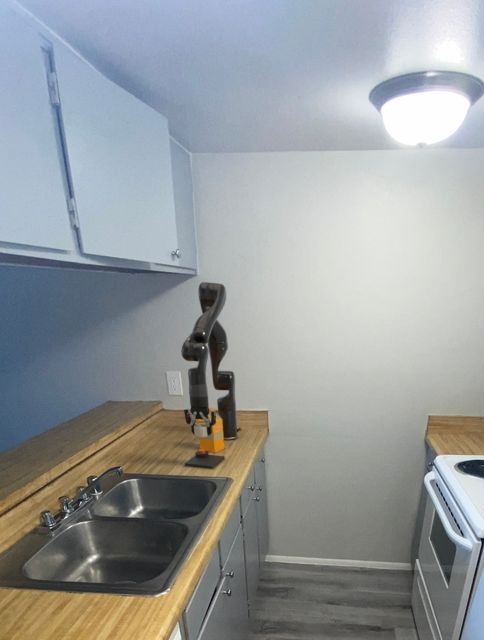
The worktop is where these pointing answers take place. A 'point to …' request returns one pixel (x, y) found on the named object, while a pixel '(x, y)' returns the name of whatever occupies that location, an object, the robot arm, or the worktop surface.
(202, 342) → the robot arm
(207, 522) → the worktop surface
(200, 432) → the bowl
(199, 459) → the scale
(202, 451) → the tare button
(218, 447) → the orange juice
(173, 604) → the worktop surface
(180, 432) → the worktop surface
